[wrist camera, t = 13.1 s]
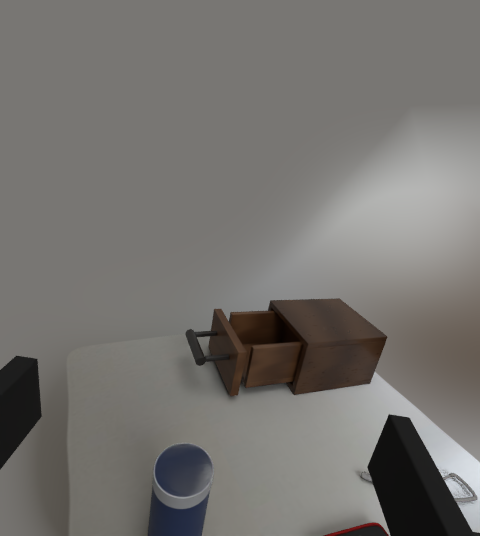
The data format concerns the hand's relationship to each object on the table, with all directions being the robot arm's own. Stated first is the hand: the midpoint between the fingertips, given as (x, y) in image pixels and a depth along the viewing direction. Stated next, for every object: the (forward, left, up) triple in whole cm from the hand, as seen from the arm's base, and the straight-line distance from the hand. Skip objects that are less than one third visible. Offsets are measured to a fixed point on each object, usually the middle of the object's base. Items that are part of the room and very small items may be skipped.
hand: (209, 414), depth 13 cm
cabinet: (+2, +43, -25) cm, 50 cm away
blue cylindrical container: (-4, +8, -25) cm, 26 cm away
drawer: (-8, +34, -24) cm, 42 cm away
